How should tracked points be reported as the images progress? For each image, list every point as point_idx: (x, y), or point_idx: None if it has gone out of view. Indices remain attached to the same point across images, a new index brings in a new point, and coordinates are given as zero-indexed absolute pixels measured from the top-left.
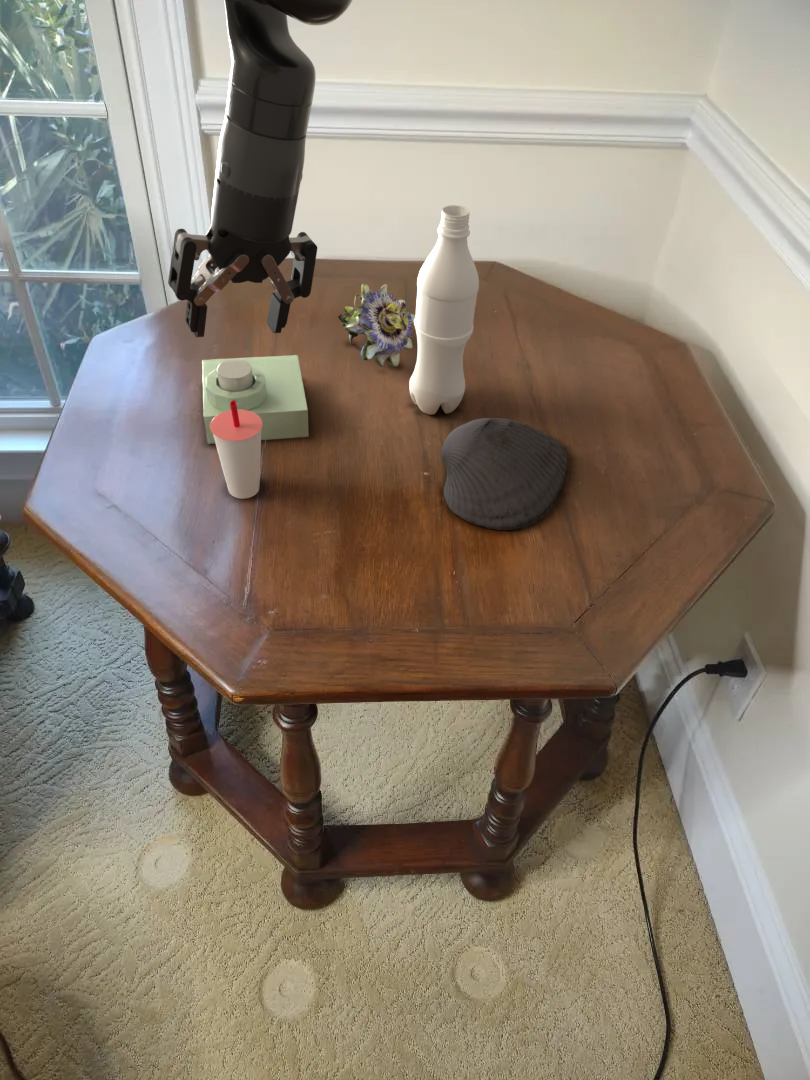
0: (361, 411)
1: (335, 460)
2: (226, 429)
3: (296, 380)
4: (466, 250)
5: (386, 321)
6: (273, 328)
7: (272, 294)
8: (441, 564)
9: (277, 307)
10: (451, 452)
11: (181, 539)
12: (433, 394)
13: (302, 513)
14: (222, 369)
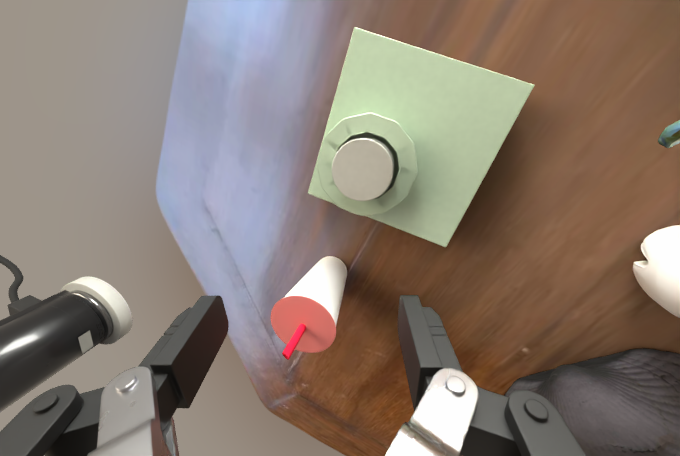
0: (547, 215)
1: (444, 281)
2: (288, 325)
3: (476, 169)
4: None
5: None
6: (399, 328)
7: (419, 368)
8: None
9: (411, 383)
10: (558, 410)
11: (262, 296)
12: (666, 309)
13: (369, 325)
14: (341, 164)
